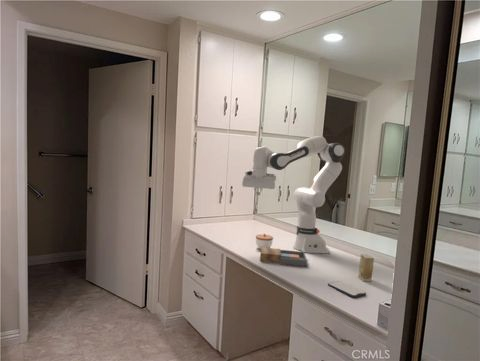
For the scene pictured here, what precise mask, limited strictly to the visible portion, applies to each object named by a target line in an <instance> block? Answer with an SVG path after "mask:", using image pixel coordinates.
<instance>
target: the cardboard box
mask: <svg viewBox="0 0 480 361" xmlns="http://www.w3.org/2000/svg"><path fill="white" fill-rule="evenodd" d="M281 250H282V249H281V248H273V247H270V248H264V247H262V248H261V249H260V257H259V261H260V262H264V263H275V264H280V258H281Z"/></svg>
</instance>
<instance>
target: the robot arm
mask: <svg viewBox="0 0 480 361" xmlns="http://www.w3.org/2000/svg"><path fill="white" fill-rule="evenodd" d="M345 154H346V148H345V145H343V144H342V143H340V142H333V143H328V142H327V140H326V138H325V137H324V136H323V135H316V136H311V137H308V138H305V139H303V140H301V141H300V142H298V143H297V145H296V148H295V149H293V150H291V151H287V152H285V153H283V152H274V151H272V150H271V149H269V148H268V146H258V147H256V148H255V149H254V151H253V157H252V158H253V161H252V162H253V165H252V169H249V170H246V171H245V172H244V174H245V175H244V176H243V177H242V181H241V182H242V183H241V185H242V188H253V190H254V191H255V196H261V193H262V191H263V189H268V190H274V189H275V188H276V181H277V176H276V174H274V173H267V172H268V168H270V169H274V170H277V171H282V170H284V169H286V167H288V166H289V165H290V164H291V163H293V162H295V161H298V160H300V159H302V158H307V157H311V156H314V155H317V156H318V158H319V159H320V161H323V162H325V164H324V166H323V167H322V168H321V169H320V171H319V170H318V171H319V172H318V173H316V175H315V176H314V177H313V184H312V185H311V186H310V187H306V186H303V187H298V188H296V189H295V191H294V193H293V197H294V199H295V202H296V206H297V213H298V214H297V215H298V216H297V225H296V228H295V229H296V231H295V232H296V233H295V234H296V236H295V239H294V240H295V241H294V244H293V249H295V250H297V251H299V252H305V254H306V253H307V254H308V253H310V254H329V253H330V248H329V247H327V243H326V241H325V239H324V238H323V237H322V236H321V235H320V234H319V233H321V232H320V229H318V227H316V224H317V223H316V222H317V221H316V220H317V215H316V212H315V211H314V210H315V209H314V208H320V207H322V206H324V204H325V201H326V197H325V196H326V193H327V191H328V190H329V188H330V187H331V186H332V184H333V183H334V182H335V181H336V179H337V178H338V176H340V174H341V172H342V170H343V165H342V163H341V162H342V161H343V159H344V156H345ZM257 189H259V191H257Z"/></svg>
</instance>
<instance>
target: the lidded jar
mask: <svg viewBox="0 0 480 361" xmlns="http://www.w3.org/2000/svg"><path fill="white" fill-rule="evenodd" d="M273 240H274V236H272V235H270V234H266V233H262V234H256V235H255V245H256V247H257V248H258V249H259V250H261V248H262V247H264V248H272V245H273Z"/></svg>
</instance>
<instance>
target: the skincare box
mask: <svg viewBox="0 0 480 361" xmlns="http://www.w3.org/2000/svg"><path fill="white" fill-rule="evenodd" d="M374 262H375V257H373V256H371V255H370V254H368V253H367V254H366V253H361V254H360V259H359V268H358V276H357V277H358V278H359V279H360V280H361V281H362V282H365V283H366V282H369V283H372V279H373V278H372V277H373V268H374V264H375V263H374Z"/></svg>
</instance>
